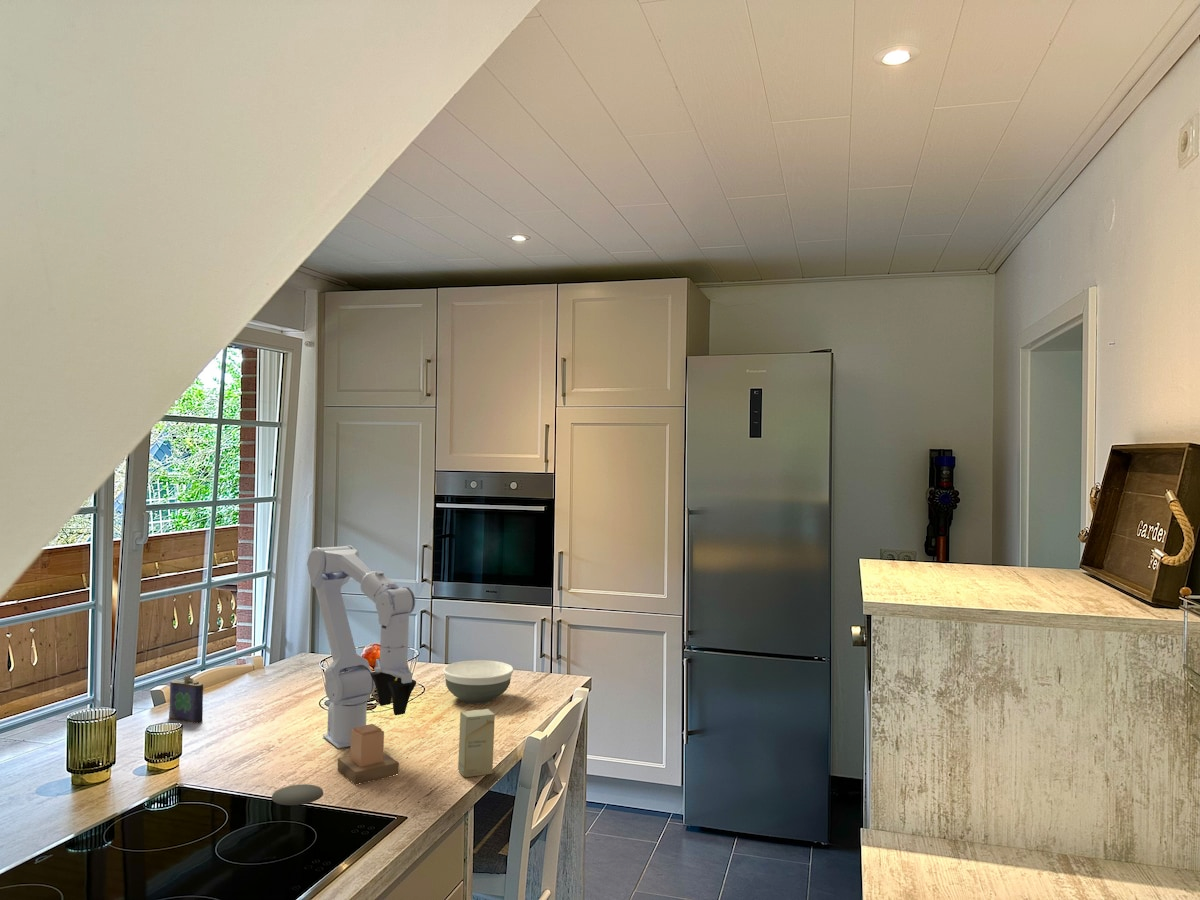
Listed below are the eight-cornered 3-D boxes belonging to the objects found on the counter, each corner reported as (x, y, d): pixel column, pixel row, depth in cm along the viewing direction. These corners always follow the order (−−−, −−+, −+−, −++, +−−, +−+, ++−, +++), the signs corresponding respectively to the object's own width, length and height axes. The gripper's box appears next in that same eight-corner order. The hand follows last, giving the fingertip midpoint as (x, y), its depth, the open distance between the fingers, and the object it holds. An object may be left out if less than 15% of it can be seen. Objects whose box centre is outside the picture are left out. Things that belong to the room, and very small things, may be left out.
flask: (166, 719, 194) (168, 674, 194) (176, 715, 197) (178, 671, 197) (196, 724, 191) (198, 678, 191) (206, 720, 194) (208, 675, 194)
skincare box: (464, 778, 163) (465, 717, 164) (457, 770, 167) (459, 711, 167) (493, 773, 166) (495, 713, 166) (486, 766, 170) (488, 707, 170)
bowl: (477, 685, 230) (477, 656, 231) (527, 698, 219) (528, 667, 220) (427, 700, 215) (427, 669, 215) (478, 714, 204) (479, 681, 204)
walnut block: (337, 773, 166) (338, 758, 166) (379, 763, 171) (379, 749, 171) (355, 787, 159) (355, 772, 159) (398, 777, 164) (398, 762, 164)
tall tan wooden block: (350, 759, 165) (351, 727, 165) (372, 754, 168) (373, 722, 168) (360, 766, 161) (361, 733, 161) (383, 761, 165) (384, 729, 165)
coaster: (265, 794, 154) (265, 791, 154) (313, 783, 160) (313, 780, 160) (280, 811, 147) (280, 808, 147) (329, 799, 152) (329, 796, 152)
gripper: (363, 640, 177) (360, 703, 177) (390, 654, 165) (387, 721, 165) (393, 637, 181) (391, 698, 181) (422, 650, 169) (420, 716, 169)
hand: (392, 709), depth 173 cm, fingers open, 7 cm apart
